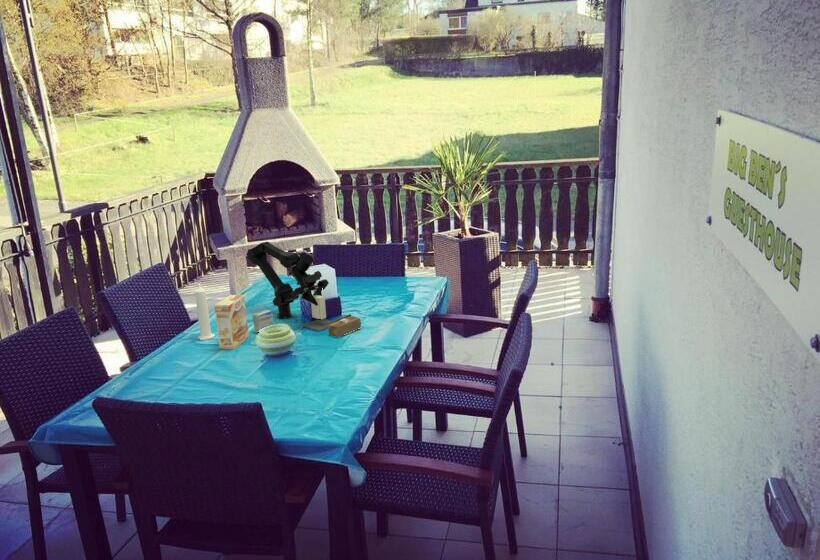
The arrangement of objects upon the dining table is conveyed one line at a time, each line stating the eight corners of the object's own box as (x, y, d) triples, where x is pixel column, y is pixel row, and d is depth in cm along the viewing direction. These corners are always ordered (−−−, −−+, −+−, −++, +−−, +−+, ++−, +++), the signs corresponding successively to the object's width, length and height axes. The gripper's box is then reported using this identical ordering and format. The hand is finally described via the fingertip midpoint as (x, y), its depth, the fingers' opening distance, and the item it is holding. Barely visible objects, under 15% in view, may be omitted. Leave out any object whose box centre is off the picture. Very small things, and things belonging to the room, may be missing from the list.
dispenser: (328, 335, 291) (327, 323, 290) (350, 326, 302) (350, 314, 300) (338, 338, 287) (337, 325, 286) (361, 328, 298) (360, 316, 296)
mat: (301, 326, 304) (301, 325, 304) (320, 319, 312) (320, 318, 312) (319, 331, 296) (319, 330, 296) (338, 324, 305) (338, 322, 305)
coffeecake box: (234, 349, 280) (229, 305, 275) (219, 349, 282) (213, 305, 276) (249, 337, 294) (244, 294, 289) (234, 336, 296) (229, 294, 290)
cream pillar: (312, 317, 304) (310, 296, 301) (317, 315, 306) (315, 294, 304) (321, 319, 300) (319, 298, 298) (326, 317, 303) (324, 296, 300)
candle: (194, 339, 295) (186, 284, 288) (206, 333, 301) (198, 280, 294) (206, 341, 292) (199, 286, 285) (218, 335, 298) (210, 281, 291)
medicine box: (260, 334, 297) (258, 315, 295) (254, 332, 300) (252, 314, 297) (274, 328, 303) (272, 310, 301) (267, 327, 306) (265, 309, 303)
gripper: (293, 271, 293) (312, 299, 289) (324, 262, 306) (343, 288, 302) (283, 285, 300) (301, 313, 296) (314, 276, 313) (332, 302, 309)
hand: (320, 304), depth 301 cm, fingers closed on cream pillar, 3 cm apart
